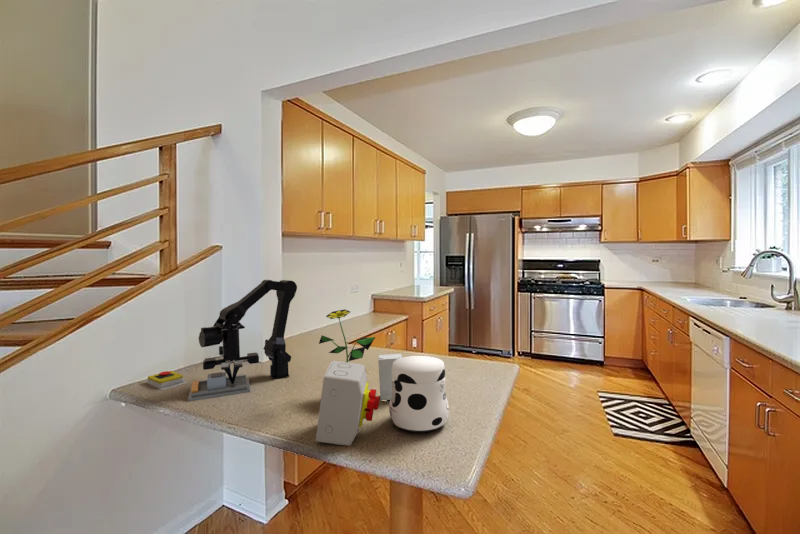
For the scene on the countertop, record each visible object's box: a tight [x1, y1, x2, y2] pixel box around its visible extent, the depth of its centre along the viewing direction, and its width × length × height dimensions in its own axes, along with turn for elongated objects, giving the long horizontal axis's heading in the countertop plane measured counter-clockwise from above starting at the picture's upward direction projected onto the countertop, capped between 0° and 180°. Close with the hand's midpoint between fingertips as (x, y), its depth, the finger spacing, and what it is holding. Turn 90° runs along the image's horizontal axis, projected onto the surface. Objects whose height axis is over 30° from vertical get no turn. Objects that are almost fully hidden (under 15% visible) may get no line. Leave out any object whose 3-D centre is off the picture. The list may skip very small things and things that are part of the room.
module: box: [206, 371, 227, 390], centre depth 140 cm, size 6×6×5 cm
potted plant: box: [318, 309, 376, 371], centre depth 129 cm, size 18×19×30 cm
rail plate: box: [187, 373, 251, 402], centre depth 141 cm, size 20×13×4 cm, turn 114°
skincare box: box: [377, 353, 403, 401], centre depth 130 cm, size 8×6×15 cm
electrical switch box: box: [315, 360, 381, 446], centre depth 106 cm, size 15×15×20 cm
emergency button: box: [145, 370, 187, 391], centre depth 150 cm, size 9×4×15 cm
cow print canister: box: [388, 355, 450, 433], centre depth 111 cm, size 17×17×18 cm
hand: (232, 383), depth 142 cm, fingers closed
